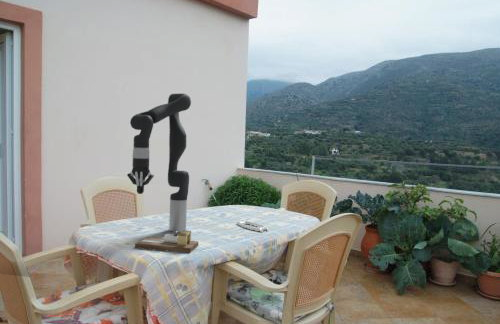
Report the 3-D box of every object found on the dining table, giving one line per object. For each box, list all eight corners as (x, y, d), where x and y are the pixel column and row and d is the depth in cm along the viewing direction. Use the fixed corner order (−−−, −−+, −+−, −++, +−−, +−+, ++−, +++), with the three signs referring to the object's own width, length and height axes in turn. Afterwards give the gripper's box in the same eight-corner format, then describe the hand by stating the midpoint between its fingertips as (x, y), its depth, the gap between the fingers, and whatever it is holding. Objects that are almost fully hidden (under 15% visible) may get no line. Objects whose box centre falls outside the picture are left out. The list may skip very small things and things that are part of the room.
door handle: (245, 223, 222) (271, 231, 203) (232, 225, 216) (258, 233, 197) (245, 219, 222) (271, 227, 203) (232, 220, 216) (258, 228, 197)
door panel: (146, 241, 170) (146, 236, 170) (198, 245, 166) (198, 241, 166) (134, 247, 158) (135, 243, 158) (190, 252, 154) (190, 247, 154)
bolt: (166, 240, 163) (166, 229, 163) (187, 242, 162) (187, 231, 162) (163, 242, 160) (164, 231, 160) (184, 243, 159) (185, 232, 159)
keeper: (182, 241, 164) (182, 230, 164) (190, 242, 164) (191, 231, 164) (177, 245, 157) (177, 233, 157) (185, 246, 157) (186, 234, 157)
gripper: (157, 157, 168) (156, 193, 169) (131, 156, 170) (130, 191, 171) (151, 158, 161) (150, 195, 162) (124, 156, 162) (123, 193, 163)
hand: (140, 193), depth 166 cm, fingers closed
